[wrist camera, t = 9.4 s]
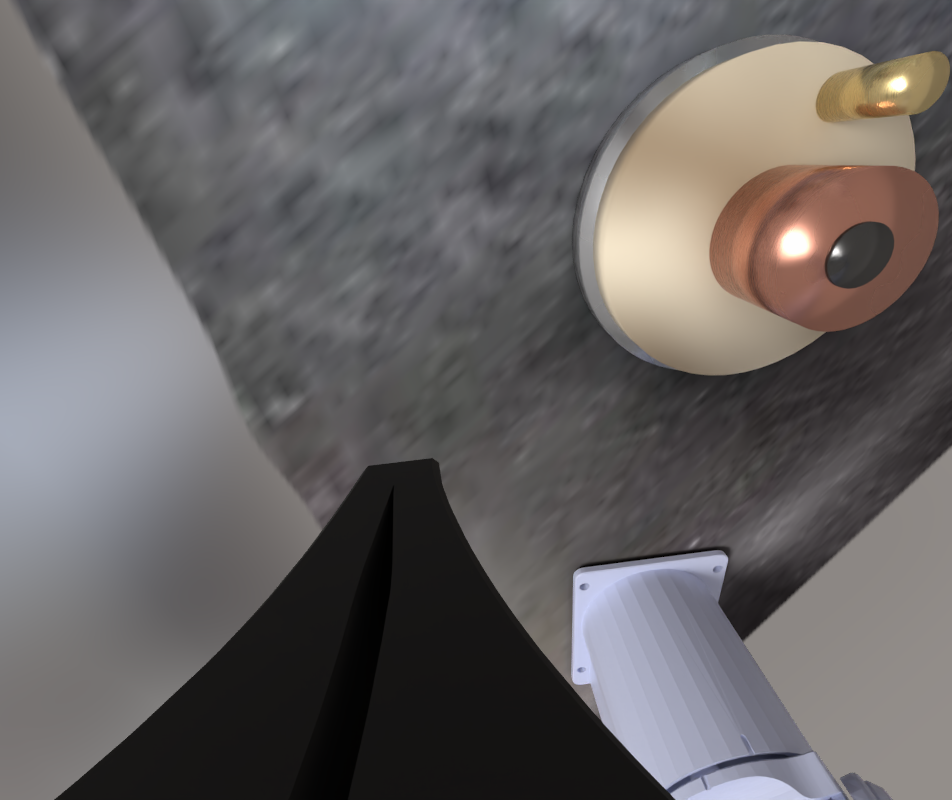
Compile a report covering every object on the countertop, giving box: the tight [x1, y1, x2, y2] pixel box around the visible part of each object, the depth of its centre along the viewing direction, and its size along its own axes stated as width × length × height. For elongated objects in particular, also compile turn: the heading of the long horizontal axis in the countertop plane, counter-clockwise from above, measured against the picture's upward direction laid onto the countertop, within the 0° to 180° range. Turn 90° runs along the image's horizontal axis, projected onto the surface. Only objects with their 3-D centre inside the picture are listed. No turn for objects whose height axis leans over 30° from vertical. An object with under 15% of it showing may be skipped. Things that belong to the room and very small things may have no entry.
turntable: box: [593, 41, 950, 375], centre depth 14 cm, size 10×10×4 cm
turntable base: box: [572, 35, 817, 370], centre depth 16 cm, size 10×10×1 cm
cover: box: [709, 165, 939, 332], centre depth 13 cm, size 4×4×3 cm
